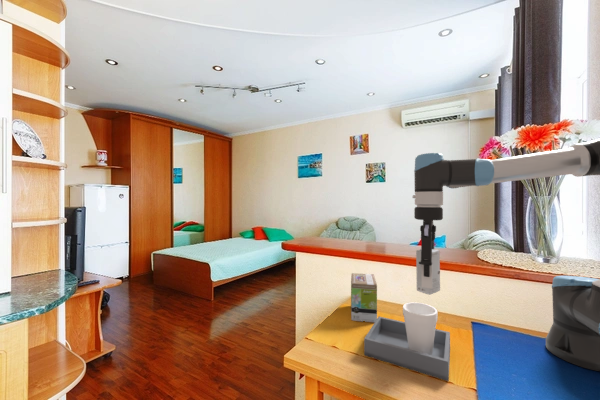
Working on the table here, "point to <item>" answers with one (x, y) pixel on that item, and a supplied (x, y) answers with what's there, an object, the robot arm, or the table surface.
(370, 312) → the tea box
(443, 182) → the robot arm
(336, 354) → the table surface
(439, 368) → the tote
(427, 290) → the skincare box
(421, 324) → the foam cup
